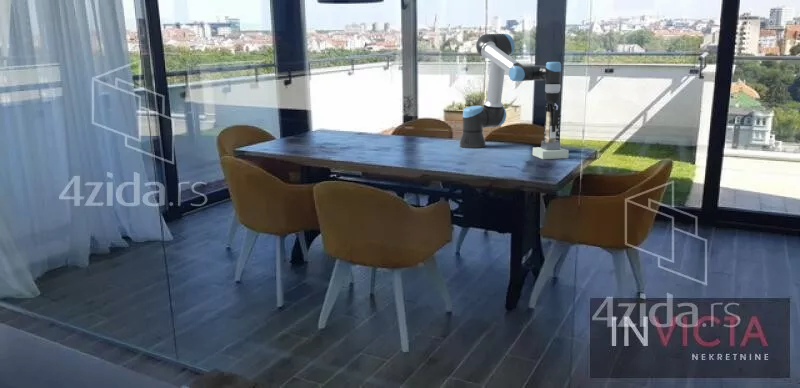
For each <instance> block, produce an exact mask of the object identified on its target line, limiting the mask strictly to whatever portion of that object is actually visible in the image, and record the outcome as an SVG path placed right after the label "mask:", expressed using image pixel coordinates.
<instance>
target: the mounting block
mask: <svg viewBox="0 0 800 388" xmlns="http://www.w3.org/2000/svg"><path fill="white" fill-rule="evenodd" d="M569 153H570V152H569V150H568V149H566V148H562V147H560V150H544V149H542V148H541V146H540V147H539V146H537V147H532V156H534V157H536V158H539V159H541V160H552V159H553V160H555V159H556V160H557V159H569Z"/></svg>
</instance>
